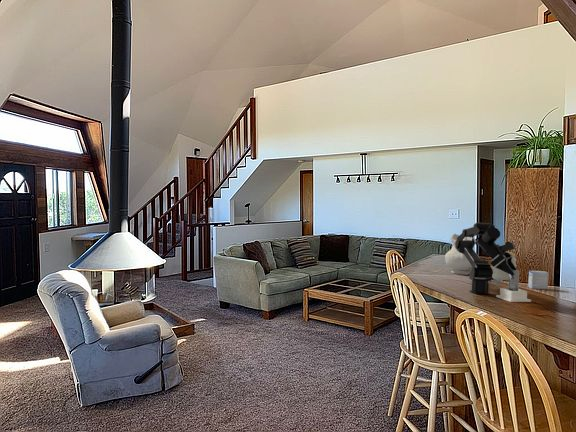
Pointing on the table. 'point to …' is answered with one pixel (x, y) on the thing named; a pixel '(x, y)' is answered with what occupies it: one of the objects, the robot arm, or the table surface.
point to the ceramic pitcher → (458, 258)
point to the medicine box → (538, 280)
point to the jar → (501, 274)
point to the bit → (514, 281)
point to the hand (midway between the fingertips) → (515, 273)
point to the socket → (513, 295)
